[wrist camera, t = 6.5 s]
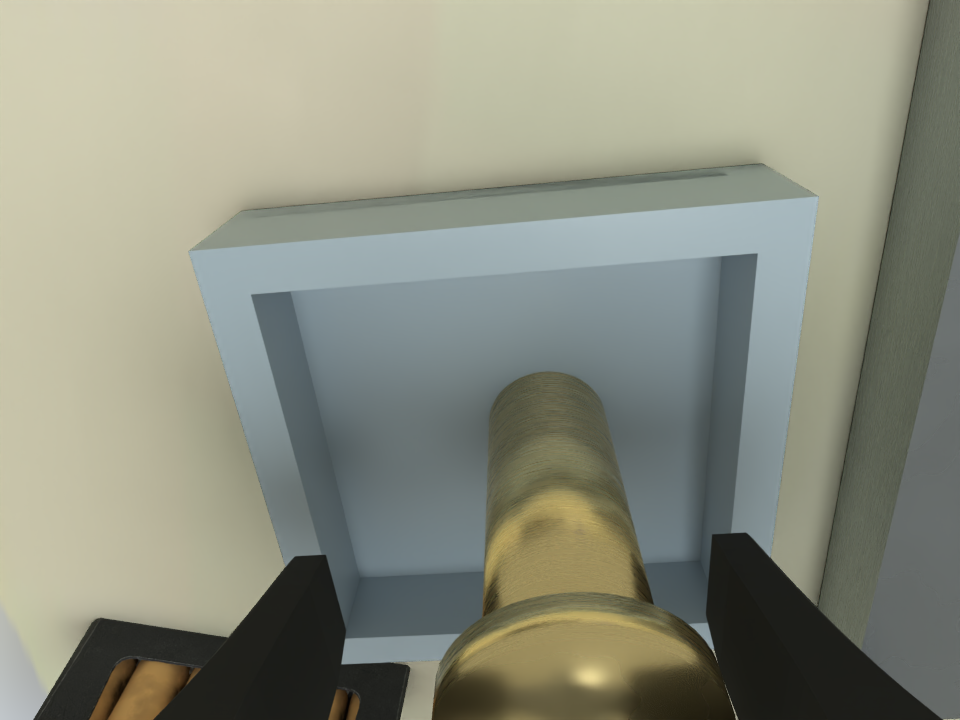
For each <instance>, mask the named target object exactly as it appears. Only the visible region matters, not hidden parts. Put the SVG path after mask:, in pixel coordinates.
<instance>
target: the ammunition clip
mask: <svg viewBox="0 0 960 720" xmlns="http://www.w3.org/2000/svg"><path fill="white" fill-rule="evenodd" d="M227 639H228V638H227V637H221V636H214V635H208V634H201V633H195V632H188V631H182V630H175V629H169V628H162V627H156V626H149V625H143V624H136V623H130V622H124V621H117V620H111V619H104V618H100V619H98V620H96V621H94V622H92V624H91V625H90V627H89V629H88V630H87V632H86V634H85V635H84V637H83V639H82V640H81V642H80V643H79V645H78V647H77V648H76V650H75V652H74V653H73V655H72V657H71V658H70V660H69V662H68V663H67V665H66V667H65V668H64V670H63V672H62V673H61V675H60V677H59V678H58V680H57V681H56V683H55V685H54V686H53V688H52V690H51V691H50V693H49V695H48V696H47V698H46V700H45V701H44V703H43V705H42V706H41V708H40V710H39V711H38V713H37V715H36V716H35V718H34V720H153V719H154V718H155V717H156V716H157V715H158V714H159V713H160V712H161V711H162V710H163V709H164V708H165V707H166V706H167V705H168V704H169V703H170V702H171V701H172V700H173V699H174V698H175V697H176V696H177V695H178V694H179V692H180V691H181V690H182V689H183V688H184V687H185V686H186V685H187V684H188V683H189V682H190V680H191V679H192V678H193V677H194V676H195V675H196V674H197V673H198V672H199V671H200V669H201V668H202V667H203V666H204V665H205V664H206V663H207V662H208V661H209V660H210V658H211V657H212V656H213V655H214V654H215V653H216V652H217V651H218V649H219V648H220V647H221V646H222V645H223V643H224V642H225V641H226V640H227ZM409 672H410V669H409V667H408V665H402V664H396V663H389V662H386V663H361V664H341V669H340V675H339V681H338V686H337V690H336V694H335V697H334V701H333V705H332V708H331V712H330V716H329V719H328V720H400V717H401V712H402V707H403V702H404V697H405V692H406V687H407V682H408V677H409Z"/></svg>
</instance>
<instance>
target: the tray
mask: <svg viewBox="0 0 960 720" xmlns="http://www.w3.org/2000/svg"><path fill="white" fill-rule="evenodd" d="M818 199H819V196H817V195H816V194H814V193H812V192H810V191H809V190H807V189H805V188H804V187H802V186H800V185H799V184H797V183H795V182H793V181H792V180H790V179H788V178H787V177H785V176H783V175H781V174H780V173H778V172H776V171H775V170H773V169H771V168H769V167H768V166H766V165H764V164H752V165H741V166H730V167H719V168H708V169H697V170H686V171H675V172H664V173H653V174H642V175H631V176H620V177H609V178H598V179H587V180H576V181H565V182H554V183H543V184H532V185H521V186H510V187H499V188H488V189H477V190H466V191H455V192H444V193H433V194H422V195H411V196H400V197H389V198H378V199H367V200H356V201H345V202H334V203H323V204H312V205H301V206H290V207H279V208H268V209H257V210H246V211H241V212H239V213H238V214H237V215H235V216H234V217H233V218H231V219H230V220H229V221H227V222H226V223H225V224H224V225H222V226H221V227H220V228H218V229H217V230H216V231H214V232H213V233H212V234H210V235H209V236H208V237H206V238H205V239H204V240H203V241H201V242H200V243H199V244H197V245H196V246H195V247H193V248H192V249H191V250H189V255H190V258H191V261H192V264H193V268H194V271H195V274H196V277H197V281H198V284H199V287H200V290H201V294H202V297H203V300H204V303H205V307H206V310H207V313H208V316H209V320H210V323H211V326H212V329H213V333H214V336H215V339H216V342H217V346H218V349H219V352H220V355H221V359H222V362H223V365H224V368H225V372H226V375H227V378H228V381H229V385H230V388H231V391H232V394H233V398H234V401H235V404H236V407H237V411H238V414H239V417H240V420H241V424H242V427H243V430H244V433H245V437H246V440H247V443H248V446H249V450H250V453H251V456H252V459H253V463H254V466H255V469H256V472H257V476H258V479H259V482H260V485H261V489H262V492H263V495H264V498H265V502H266V505H267V508H268V511H269V515H270V518H271V521H272V524H273V528H274V531H275V534H276V537H277V540H278V544H279V547H280V550H281V553H282V557H283V560H284V563H285V566H287V565H288V563H289V562H290V561H291V560H292V559H293V558H294V557H295V556H308V555H326V557H327V560H328V564H329V568H330V572H331V575H332V579H333V583H334V586H335V590H336V594H337V598H338V601H339V605H340V609H341V613H342V616H343V620H344V624H345V627H346V636H345V643H344V650H343V656H342V663H341V664H361V663H386V662H410V661H435V660H442V658H443V657H444V655H445V653H446V651H447V650H448V648H449V647H450V646H451V644H452V643H453V642H454V640H455V639H456V638H457V637H458V636H459V635H461V634H462V633H463V632H464V631H465V630H466V629H467V628H468V627H470V626H471V625H472V624H474V623H475V622H476V621H478V620H479V619H481V618H482V611H483V581H484V552H485V523H486V493H487V464H488V435H489V416H490V411H491V407H492V405H493V403H494V401H495V399H496V398H497V396H498V395H499V394H500V392H501V391H502V390H503V389H504V388H505V387H506V386H508V385H509V384H510V383H512V382H513V381H515V380H517V379H519V378H520V377H523V376H526V375H528V374H532V373H536V372H547V371H552V372H561V373H565V374H569V375H572V376H575V377H577V378H579V379H581V380H582V381H584V382H585V383H587V384H588V385H589V386H590V387H591V388H592V389H593V390H594V391H595V392H596V393H597V395H598V396H599V398H600V399H601V402H602V404H603V407H604V410H605V414H606V418H607V422H608V426H609V430H610V434H611V438H612V442H613V446H614V450H615V454H616V457H617V461H618V465H619V469H620V473H621V477H622V481H623V485H624V489H625V493H626V497H627V501H628V505H629V508H630V512H631V516H632V520H633V524H634V528H635V532H636V536H637V540H638V544H639V548H640V552H641V555H642V559H643V563H644V567H645V571H646V575H647V579H648V583H649V587H650V591H651V595H652V599H653V603H654V605H655V606H657V607H660V608H662V609H664V610H667V611H668V612H670V613H672V614H674V615H675V616H677V617H679V618H680V619H682V620H683V621H685V622H686V623H687V624H688V625H690V626H691V627H692V628H694V629H695V630H696V631H697V632H698V633H699V634H700V636H701V637H702V638H703V639H704V640H705V641H706V643H707V644H708V646H709V647H710V649H714V646H713V642H712V638H711V634H710V630H709V626H708V622H707V618H706V604H707V592H708V579H709V566H710V554H711V541H712V534H725V533H744V532H746V533H748V534H749V535H750V536H751V537H752V538H753V539H754V540H755V541H756V542H757V544H758V545H759V546H760V547H761V548H762V549H763V550H764V551H765V553H766V554H767V555H768V556H769V557H770V558H771V550H772V543H773V535H774V528H775V520H776V513H777V505H778V498H779V490H780V483H781V476H782V468H783V461H784V453H785V446H786V438H787V431H788V423H789V416H790V408H791V401H792V393H793V386H794V378H795V371H796V363H797V356H798V348H799V341H800V333H801V326H802V319H803V311H804V304H805V296H806V289H807V281H808V274H809V266H810V259H811V251H812V244H813V236H814V229H815V221H816V214H817V206H818Z"/></svg>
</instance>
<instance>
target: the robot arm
mask: <svg viewBox="0 0 960 720" xmlns="http://www.w3.org/2000/svg"><path fill="white" fill-rule="evenodd" d="M706 618H707V622H708V626H709V630H710V634H711V638H712V642H713V646H714V650H715V654H716V657H717V661H718V665H719V668H720V671H721V674H722V677H723V680H724V683H725V685H726V688H727V691H728V693H729V696H730V699H731V701H732V704H733V706H734V709H735V712H736V714H737V717H738V720H943V719H941V718H940V717H939V716H938V715H936V714H935V713H934V712H933V711H931V710H930V709H929V708H928V707H926V706H925V705H924V704H923V703H921V702H920V701H919V700H918V699H917V698H915V697H914V696H913V695H912V694H910V693H909V692H908V691H907V690H906V689H904V688H903V687H902V686H901V685H900V684H899V683H897V682H896V681H895V680H894V679H893V678H892V677H890V676H889V675H888V674H887V673H886V672H885V671H884V670H882V669H881V668H880V667H879V666H878V665H877V664H876V663H875V662H874V661H872V660H871V659H870V658H869V657H868V656H867V655H866V654H865V653H864V652H863V651H861V650H860V649H859V648H858V647H857V646H856V645H855V644H854V643H853V642H852V641H851V640H850V639H849V638H848V637H847V636H845V635H844V634H843V633H842V632H841V631H840V630H839V629H838V628H837V627H836V626H835V625H834V624H833V623H832V622H831V621H830V620H829V619H828V618H827V617H826V616H825V615H824V614H823V613H822V612H821V611H820V610H819V609H818V608H817V607H816V606H815V605H814V604H813V603H812V602H811V601H810V600H809V599H808V598H807V597H806V596H805V595H804V594H803V593H802V592H801V590H800V589H799V588H798V587H797V586H796V585H795V584H794V583H793V582H792V581H791V580H790V579H789V578H788V577H787V576H786V575H785V573H784V572H783V571H782V570H781V569H780V568H779V567H778V566H777V565H776V564H775V563H774V561H773V560H772V559H771V558H770V557H769V556H768V555H767V554H766V553H765V551H764V550H763V549H762V548H761V547H760V546H759V545H758V544H757V542H756V541H755V540H754V539H753V538H752V537H751V536H750V535H749V534H748V533H746V532H744V533H725V534H712V541H711V554H710V566H709V579H708V592H707V604H706ZM345 636H346V627H345V624H344V620H343V616H342V613H341V609H340V605H339V601H338V598H337V594H336V590H335V586H334V583H333V579H332V575H331V572H330V568H329V564H328V560H327V557H326V555H308V556H295V557H294V558H293V559H292V560H291V561H290V562H289V563H288V565H287V566H286V567H285V568H284V570H283V571H282V572H281V573H280V575H279V576H278V577H277V578H276V580H275V581H274V582H273V583H272V585H271V586H270V587H269V589H268V590H267V591H266V592H265V594H264V595H263V596H262V597H261V599H260V600H259V601H258V602H257V604H256V605H255V606H254V607H253V609H252V610H251V611H250V612H249V614H248V615H247V616H246V617H245V618H244V620H243V621H242V622H241V623H240V624H239V626H238V627H237V628H236V629H235V630H234V632H233V633H232V634H231V635H230V636H229V638H228V639H227V640H226V641H225V642H224V643H223V645H222V646H221V647H220V648H219V649H218V651H217V652H216V653H215V654H214V655H213V656H212V657H211V658H210V660H209V661H208V662H207V663H206V664H205V665H204V666H203V667H202V668H201V669H200V671H199V672H198V673H197V674H196V675H195V676H194V677H193V678H192V679H191V680H190V682H189V683H188V684H187V685H186V686H185V687H184V688H183V689H182V690H181V691H180V692H179V694H178V695H177V696H176V697H175V698H174V699H173V700H172V701H171V702H170V703H169V704H168V705H167V706H166V707H165V708H164V709H163V710H162V711H161V712H160V713H159V714H158V715H157V716H156V717H155V718H154V719H153V720H328V719H329V716H330V712H331V708H332V705H333V701H334V697H335V694H336V690H337V686H338V681H339V675H340V669H341V663H342V656H343V650H344V643H345Z"/></svg>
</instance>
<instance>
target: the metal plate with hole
mask: <svg viewBox="0 0 960 720" xmlns="http://www.w3.org/2000/svg"><path fill="white" fill-rule="evenodd" d="M818 609H819V610H820V611H821V612H822V613H823V614H824V615H825V616H826V617H827V618H828V619H829V620H830V621H831V622H832V623H833V624H834V625H835V626H836V627H837V628H838V629H839V630H840V631H841V632H842V633H843V634H844V635H845V636H847V637H848V638H849V639H850V640H851V641H852V642H853V643H854V644H855V645H856V646H857V647H858V648H859V649H860V650H861V651H863V652H864V653H865V654H866V655H867V656H868V657H869V658H870V659H871V660H872V661H874V662H875V663H876V664H877V665H878V666H879V667H880V668H881V669H882V670H884V671H885V672H886V673H887V674H888V675H889V676H890V677H892V678H893V679H894V680H895V681H896V682H897V683H899V684H900V685H901V686H902V687H903V688H904V689H906V690H907V691H908V692H909V693H910V694H912V695H913V696H914V697H915V698H917V699H918V700H919V701H920V702H921V703H923V704H924V705H925V706H926V707H928V708H929V709H930V710H931V711H933V712H934V713H935V714H936V715H938V716H939V717H940V718H941V719H958V718H960V0H930V5H929V10H928V16H927V21H926V27H925V32H924V37H923V43H922V48H921V54H920V59H919V64H918V70H917V75H916V81H915V86H914V91H913V97H912V102H911V108H910V113H909V118H908V124H907V129H906V135H905V140H904V145H903V151H902V156H901V162H900V167H899V172H898V178H897V183H896V189H895V194H894V199H893V205H892V210H891V216H890V221H889V226H888V232H887V237H886V243H885V248H884V253H883V259H882V264H881V270H880V275H879V281H878V286H877V291H876V297H875V302H874V308H873V313H872V318H871V324H870V329H869V335H868V340H867V345H866V351H865V356H864V362H863V367H862V372H861V378H860V383H859V389H858V394H857V399H856V405H855V410H854V416H853V421H852V426H851V432H850V437H849V443H848V448H847V453H846V459H845V464H844V470H843V475H842V480H841V486H840V491H839V497H838V502H837V507H836V513H835V518H834V524H833V529H832V534H831V540H830V545H829V551H828V556H827V561H826V567H825V572H824V578H823V583H822V588H821V594H820V599H819V605H818Z"/></svg>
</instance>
